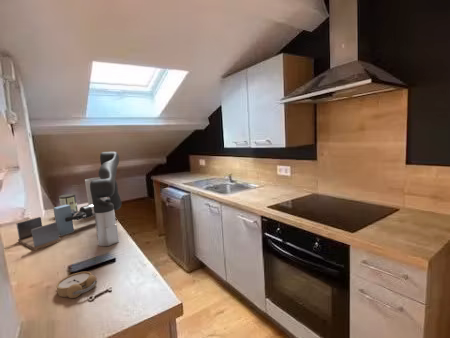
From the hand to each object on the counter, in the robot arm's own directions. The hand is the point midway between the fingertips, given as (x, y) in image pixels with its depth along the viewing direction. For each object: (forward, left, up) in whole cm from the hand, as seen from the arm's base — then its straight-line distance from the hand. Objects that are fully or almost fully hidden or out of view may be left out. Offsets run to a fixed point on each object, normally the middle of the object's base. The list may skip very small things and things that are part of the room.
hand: (61, 219), depth 145 cm
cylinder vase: (+18, -32, -9) cm, 38 cm away
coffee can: (+37, -21, -9) cm, 43 cm away
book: (0, -1, -9) cm, 9 cm away
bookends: (+1, +12, -7) cm, 14 cm away
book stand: (+1, +12, -9) cm, 15 cm away
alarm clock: (-63, +24, -9) cm, 68 cm away
